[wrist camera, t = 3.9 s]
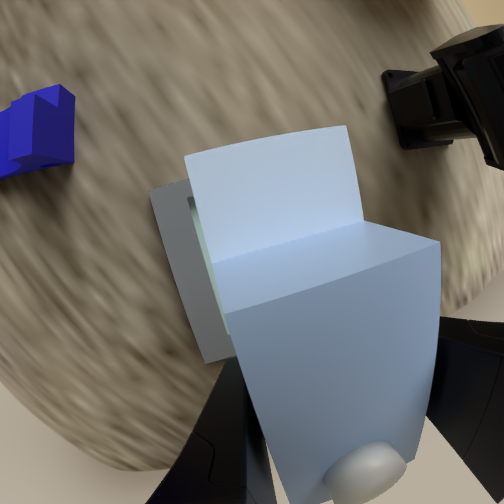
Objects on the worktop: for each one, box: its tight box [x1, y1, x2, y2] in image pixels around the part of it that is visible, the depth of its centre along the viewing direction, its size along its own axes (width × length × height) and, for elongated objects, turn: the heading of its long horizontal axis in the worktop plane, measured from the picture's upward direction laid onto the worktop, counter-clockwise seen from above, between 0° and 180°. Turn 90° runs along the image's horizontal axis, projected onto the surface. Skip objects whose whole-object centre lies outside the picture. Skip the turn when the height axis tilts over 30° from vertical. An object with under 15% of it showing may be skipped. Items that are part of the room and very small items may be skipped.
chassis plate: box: [149, 179, 236, 364], centre depth 19 cm, size 10×12×1 cm
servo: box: [184, 125, 441, 504], centre depth 7 cm, size 4×12×6 cm, turn 14°
